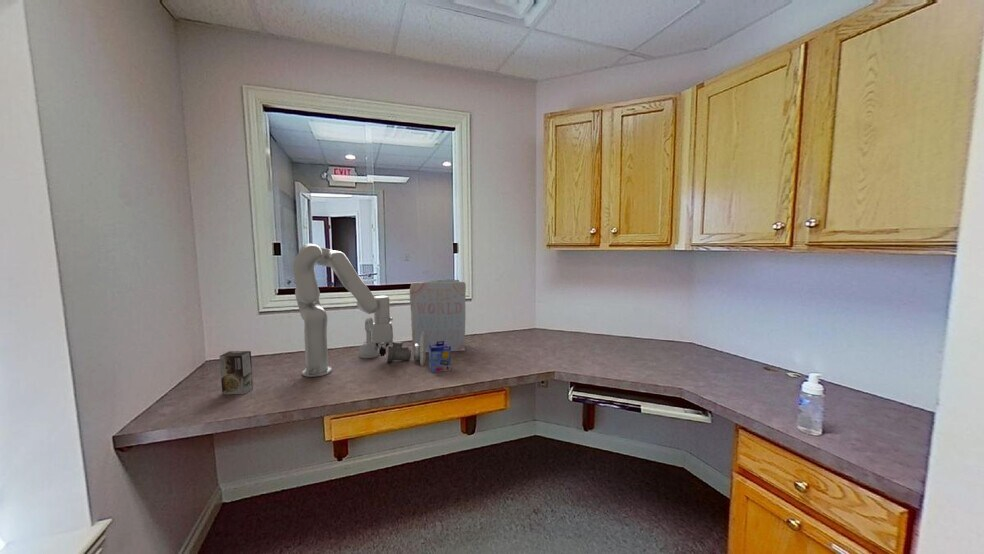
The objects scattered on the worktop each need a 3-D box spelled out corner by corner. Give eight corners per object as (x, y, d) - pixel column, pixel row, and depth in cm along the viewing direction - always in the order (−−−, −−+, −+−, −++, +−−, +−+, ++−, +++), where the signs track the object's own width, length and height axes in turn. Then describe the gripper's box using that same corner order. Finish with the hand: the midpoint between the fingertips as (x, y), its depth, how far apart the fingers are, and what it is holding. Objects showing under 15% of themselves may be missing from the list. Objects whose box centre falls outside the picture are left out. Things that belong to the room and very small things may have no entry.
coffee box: (253, 388, 161) (251, 350, 159) (244, 394, 155) (242, 355, 153) (231, 388, 161) (229, 350, 159) (221, 394, 154) (218, 355, 153)
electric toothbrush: (356, 357, 204) (375, 358, 204) (355, 319, 202) (374, 319, 202) (363, 351, 215) (381, 352, 214) (362, 315, 213) (380, 315, 212)
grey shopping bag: (410, 347, 229) (409, 279, 226) (463, 344, 235) (462, 278, 233) (410, 354, 212) (408, 281, 210) (466, 350, 218) (465, 280, 216)
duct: (423, 364, 193) (423, 337, 192) (413, 365, 193) (412, 337, 191) (425, 356, 207) (425, 330, 206) (416, 356, 206) (415, 331, 205)
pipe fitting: (385, 363, 193) (388, 343, 193) (386, 360, 201) (388, 340, 201) (410, 364, 196) (412, 344, 196) (409, 361, 204) (411, 341, 204)
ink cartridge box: (430, 372, 182) (430, 342, 180) (428, 369, 187) (428, 339, 185) (451, 370, 185) (451, 341, 184) (448, 367, 190) (448, 338, 189)
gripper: (398, 318, 200) (398, 353, 202) (368, 318, 199) (369, 353, 201) (395, 321, 193) (396, 357, 195) (365, 322, 192) (366, 358, 193)
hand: (382, 355), depth 198 cm, fingers closed
